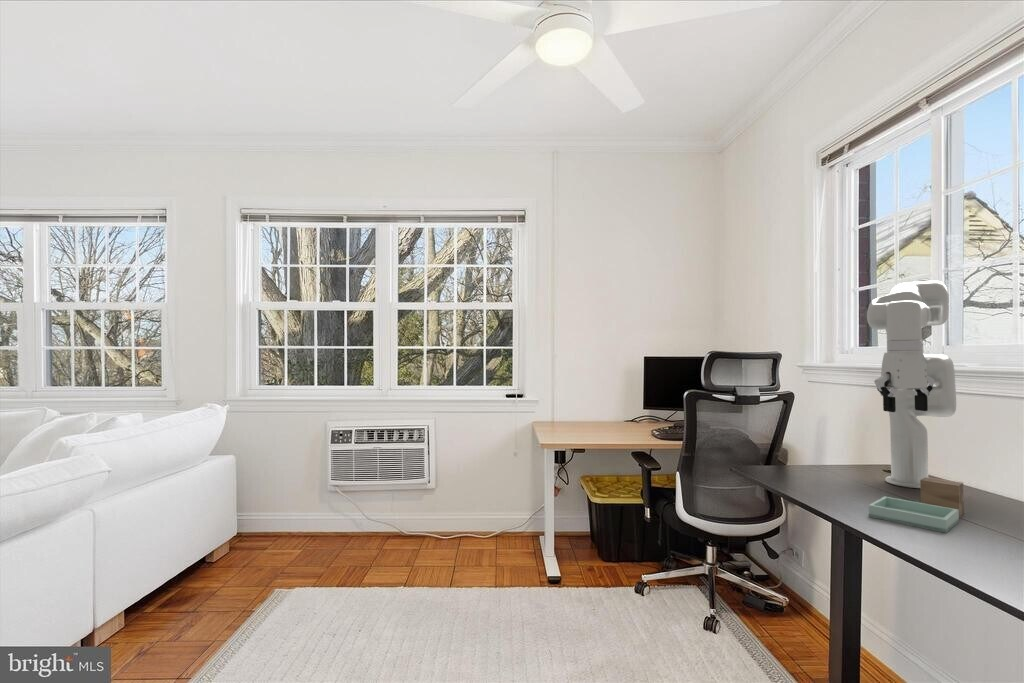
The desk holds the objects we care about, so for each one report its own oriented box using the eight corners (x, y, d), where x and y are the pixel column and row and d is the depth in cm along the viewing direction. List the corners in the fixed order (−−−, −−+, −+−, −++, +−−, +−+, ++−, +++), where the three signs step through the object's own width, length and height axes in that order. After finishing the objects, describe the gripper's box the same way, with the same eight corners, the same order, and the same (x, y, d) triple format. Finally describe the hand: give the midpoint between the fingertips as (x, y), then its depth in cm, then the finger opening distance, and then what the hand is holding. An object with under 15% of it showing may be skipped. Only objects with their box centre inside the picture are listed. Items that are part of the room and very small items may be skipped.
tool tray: (884, 507, 142) (884, 496, 142) (958, 521, 130) (958, 509, 130) (868, 516, 134) (868, 505, 134) (946, 532, 122) (946, 520, 122)
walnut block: (925, 506, 143) (925, 477, 143) (963, 513, 137) (963, 482, 137) (920, 509, 140) (920, 479, 140) (959, 517, 133) (958, 485, 134)
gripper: (919, 346, 144) (920, 408, 144) (864, 347, 142) (865, 410, 141) (945, 346, 137) (947, 411, 136) (887, 347, 134) (889, 413, 134)
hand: (905, 411), depth 139 cm, fingers open, 9 cm apart
